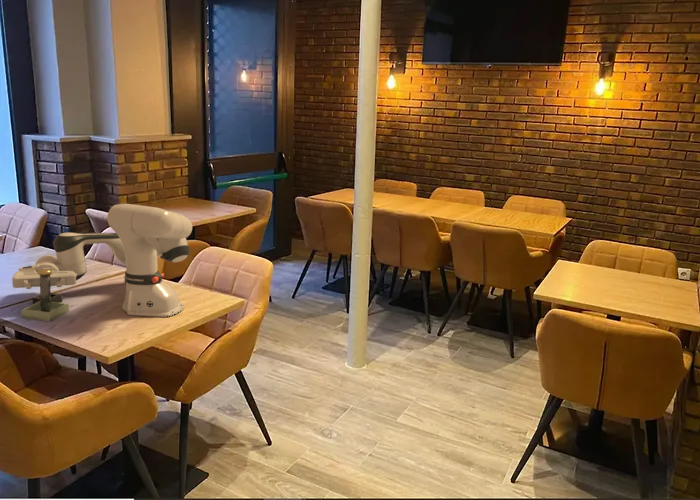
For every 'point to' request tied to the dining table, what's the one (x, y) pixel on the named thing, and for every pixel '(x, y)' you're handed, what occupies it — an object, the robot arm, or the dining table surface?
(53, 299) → the pin collar
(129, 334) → the dining table surface
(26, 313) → the tray
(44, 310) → the lock pin
